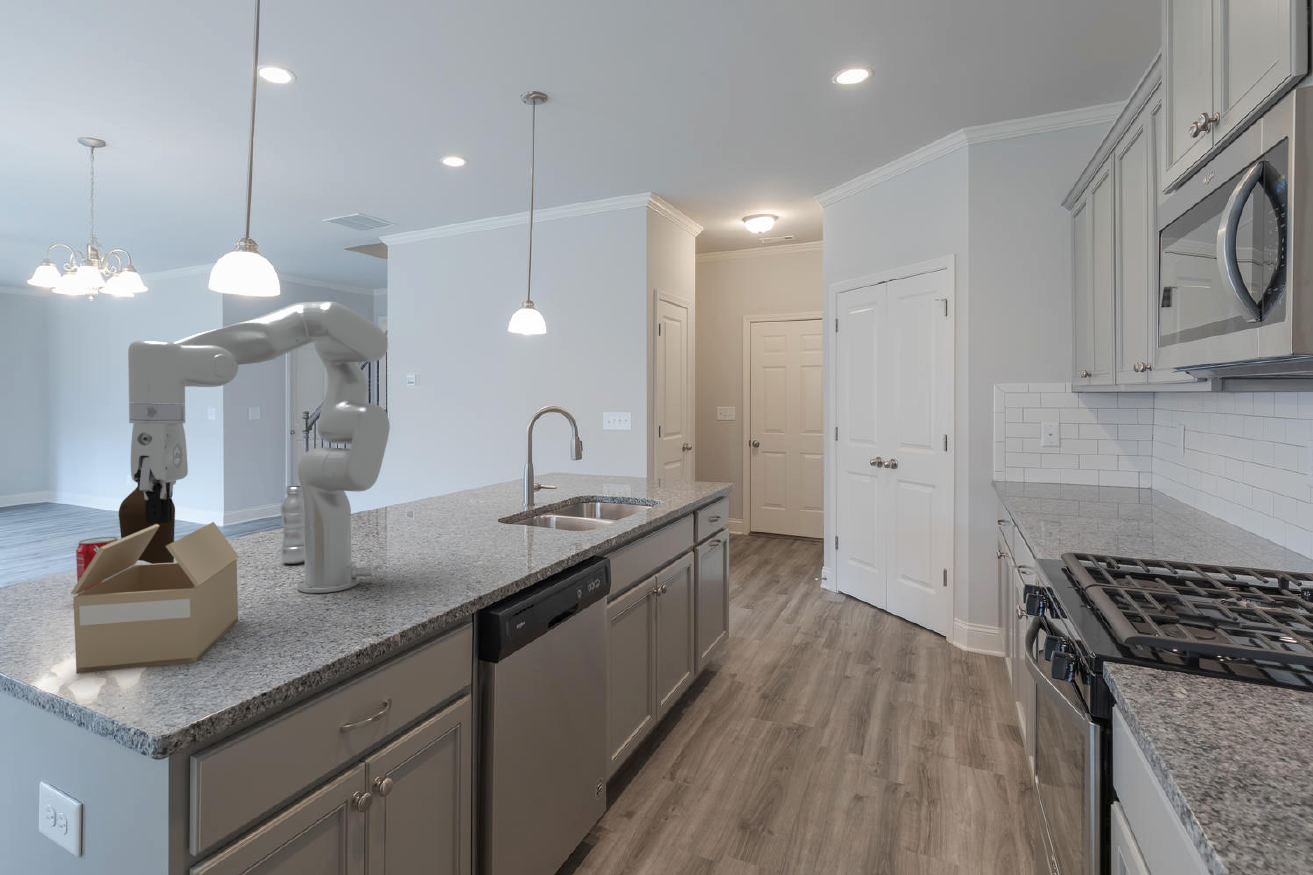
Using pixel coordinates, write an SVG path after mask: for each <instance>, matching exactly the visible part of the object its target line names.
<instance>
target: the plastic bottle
mask: <svg viewBox="0 0 1313 875" xmlns="http://www.w3.org/2000/svg"><path fill="white" fill-rule="evenodd" d="M285 489H286V490H285V494H286V497H285V499H284V500H283V501H282V502H281V505H280V514H281V519H282V520H281V521H282V528H283V529H282V531H283V533H282V534H283V535H282V546H281V548H280V549H281V550H280V558H281V561H282V562H283V563H285V564H288V565H289V564H290V565H291V564H293V565H297V564H301V563H305V550H304V504H303V495H302V489H301V485H288V486H286V487H285Z"/></svg>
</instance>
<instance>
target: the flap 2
mask: <svg viewBox="0 0 1313 875" xmlns="http://www.w3.org/2000/svg"><path fill="white" fill-rule="evenodd" d="M166 548H167V549H168V550H169V552H170V553H171V554H172V556H173V557H174V561H176V562H178V564H179V565H180V566H181V568H182V569H183V570H184V572H185V573H186V574H187V576H188V577H189V578H190V580H191V581H192V583H193V584H194V585H195V587H197V586H199V585H201V584H202V583H203V582H205V581H206V580H208V579H209V578H210V577H212V576H213V575H215V574H216V573H217V572H219V571H220V570H222V569H223V568H224V567H226V566H227V565H229V564H230V563H231V562H233V561H234V560H236V559H238V558H239V555H238V554H237V552H236V551H235V548H233V547H232V545H231V544H230V543H229V541H228V540H227V538H226V537H225V535H224V534H223V533H222V531H221V530H220V529H219V527H218V526H217V525H216V523H215V522H214V521H213V522H211V523H208V524H206V525H204V526H203V527H201V528H198V529H197V530H194V531H193V532H191V533H189V534H187V535H185V536H182V537H181V538H179V539H176V540H174V542H172V543H170V544H169V545H167V546H166Z"/></svg>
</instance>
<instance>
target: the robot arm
mask: <svg viewBox="0 0 1313 875" xmlns="http://www.w3.org/2000/svg"><path fill="white" fill-rule="evenodd" d="M311 343H313V344H314V348H315V351H316V353H317V355H318V357H319V358H320V360H321V361H322V363H323V366H324V368H325V370H326V373H327V379H328V381H327V387H326V388H327V389H326V393H325V395H324V399H323V403H322V407H321V410H320V413H319V418H318V423H317V433H318V436H319V438H321V439H322V440H323V441H324V442H328V443H331V444H332V443H333V444H339V445H340V444H341V445H350V448H346V447H345V448H343V447H326V446H325V447H316V448H313V449H310V450H308V451H306V452H305V453H304V454H302V456H301V457H300V459H299V461H298V464H297V475H298V476H297V477H298V481H299V486H301V489H302V496H303V504H304V550H305V562H304V578H303V579H301V580H300V581H299V582H298V583H297V584H296V587H297V590H298V591H300V592H302V593H306V594H307V593H309V594H325V593H326V594H327V593H333V592H339V591H344V590H347V589H350V588H353V587H355V586H358V584H360V577H373V568H372V567H369V566H362V567H361V566H360V567H358V566H356V565H355V564H356V563H355V561H352V560H353V559H352V558H353V557H352V508H351V503H350V501H349V498H348V496H347V494H346V492H355V493H356V492H357V493H358V492H365V491H368V490H369V489H371V488H372V487H373V486H374V485H375V484H376V482H377V480H378V478H379V475H380V472H381V468H382V464H383V460H384V456H385V452H386V447H387V444H388V440H389V434H390V426H391V425H390V418H389V415H388V413H387V412H386V410H385V409H384V408H383V407H382V406H380V405H379V404H376V403H375V404H374V403H370V402H369V403H368V402H366V401H367V396H368V390H369V384H368V380H367V378H366V375H365V374H364V371H363V370H362V368H361V366H360V365H359V363H375V362H378V361H380V360H381V359H384V358H383V357H385V355H386V354H387V351H388V347H389V345H388V343H389V342H388V339H387V336H386V334H385V332H384V331H383V330H382V329H381V328H380V326H378V325H377V324H376V323H374V322H372V321H371V320H369V319H367V318H366V317H365V316H363V315H361V314H360V313H358V312H356V311H354V310H353V309H351V308H349V307H347V306H346V305H344V304H341V303H339V302H335V301H328V300H327V301H326V300H325V301H305V302H304V301H302V302H295V303H292V304H289V305H287V306H285V307H281V308H279V309H276V310H274V311H271V312H268V313H266V314H263V315H260V316H257V317H255V318H252V319H249V320H246V321H245V320H244V321H241V322H237V323H232V324H230V325H227V326H223V327H219V328H216V329H212V330H208V331H204V332H200V333H196V334H193V335H190V336H188V337H185V338H182V339H180V340H177V341H174V342H171V341H162V340H135V341H133V342H131V343H130V344H129V346H128V353H127V356H128V358H127V359H128V360H127V364H128V423H129V424H132V433H131V442H130V443H131V444H130V445H131V446H130V476H131V479H132V481H134V483H137V484H138V483H140V487H139V489H140V491H143V492H144V498H145V504H146V523H167V522H170V521H172V501H173V494H174V493H173V491H174V485H176V484H177V483H176V482H177V481H178V480H183V479H185V478H186V477H187V476H188V472H189V470H188V469H189V467H188V453H187V452H188V451H187V439H186V432H185V428H184V424H186V388H187V387H195V388H196V387H197V388H215V387H222V386H224V385H225V386H226V384H229V383H230V382H232V381H233V380H235V377H236V376H237V375H238V372H239V366H241V365H250V364H259V363H265V362H267V361H273V360H276V359H278V358H280V357H283V356H284V355H286V354H288V353H290V352H293V351H295V350H297V349H299V348H302V347H304V346H307V345H308V344H311Z"/></svg>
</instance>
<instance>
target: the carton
mask: <svg viewBox="0 0 1313 875" xmlns="http://www.w3.org/2000/svg"><path fill="white" fill-rule="evenodd" d="M237 559H238V558H237ZM237 559H236V560H234V561H233V562H231V563H230V564H229V565H227V566H226V567H224V568H223V569H222V570H220V571H219V572H217V573H216V574H215V575H213V576H212V577H210V578H209V579H208V580H206V581H205V582H203V583H202V584H201V585H199V586H197V587H195V585H194V584H193V583H192V581H191V580H190V578H189V577H188V576H187V574H186V573H185V572H184V570H183V569H182V568H181V566H180V565H179V564H178V562H177V561H176V562H174V563H157V564H138V565H135V566H133V567H131V568H129V569H127V570H125V571H123V572H121V573H119V574H117V575H115V576H113V577H111V578H109V579H107V580H105V581H103V582H101V583H100V584H98V585H96V586H94V587H92V588H90V589H88V590H86V591H84V592H82V593H80V594H76V595H74V596H73V600H72V601H73V619H74V620H73V621H74V647H75V668H76V671H75V672H76V673H75V674H85V673H93V672H104V671H105V672H106V671H117V670H127V669H128V670H129V669H138V668H147V667H149V668H150V667H160V666H171V665H179V664H180V665H181V664H192V663H198V662H199V661H200V660H201V659H202V658H203V657H204V656H205V655H206V654H207V653H208V652H209V651H210V650H211V649H212V648H213V647H214V646H215V645H216V644H217V643H218V642H219V641H220V640H221V639H222V638H224V636H225V635H226V634H228V632H229V631H230V630H231V629H232V628H233V627H234V626H235V625H236V624H237V623H238V622H239V608H238V607H239V603H238V602H239V601H238V600H239V599H238V563H237V561H238V560H237Z"/></svg>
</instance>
